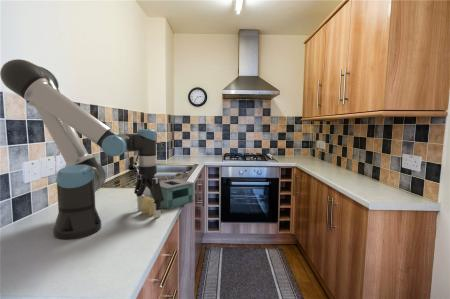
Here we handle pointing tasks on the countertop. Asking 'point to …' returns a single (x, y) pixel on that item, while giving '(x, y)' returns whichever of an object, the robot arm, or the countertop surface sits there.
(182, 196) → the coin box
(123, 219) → the countertop surface
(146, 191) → the mug
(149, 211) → the gold block
